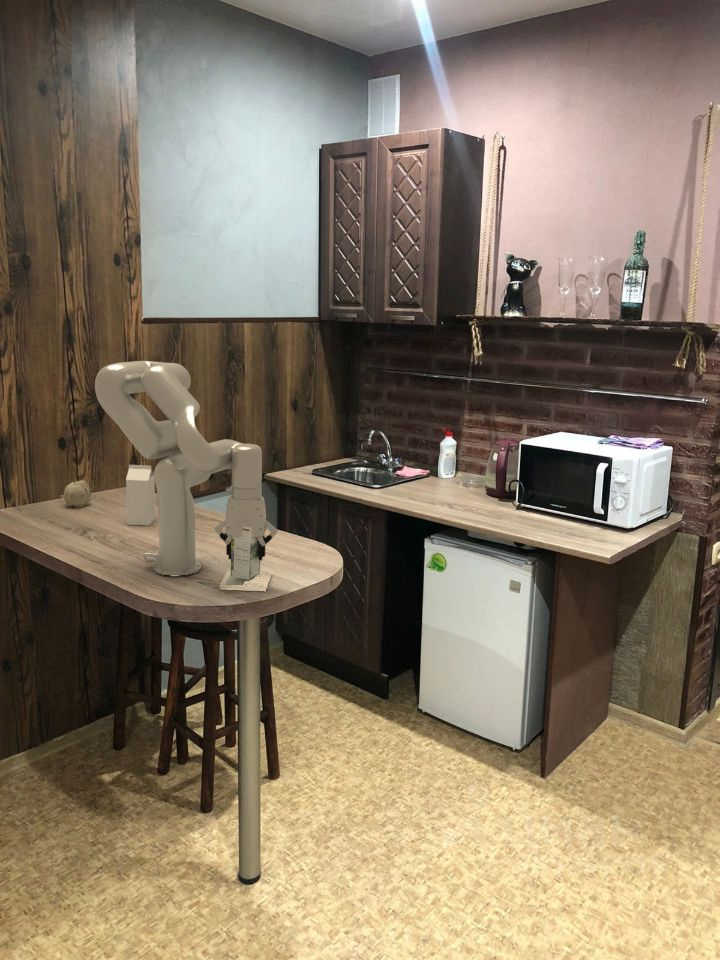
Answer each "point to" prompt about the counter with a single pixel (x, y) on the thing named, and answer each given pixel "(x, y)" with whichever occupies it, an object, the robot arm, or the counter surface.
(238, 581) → the plate
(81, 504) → the beige lumpy ball
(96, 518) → the counter surface
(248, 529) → the syrup box
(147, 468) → the milk carton
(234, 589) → the counter surface
